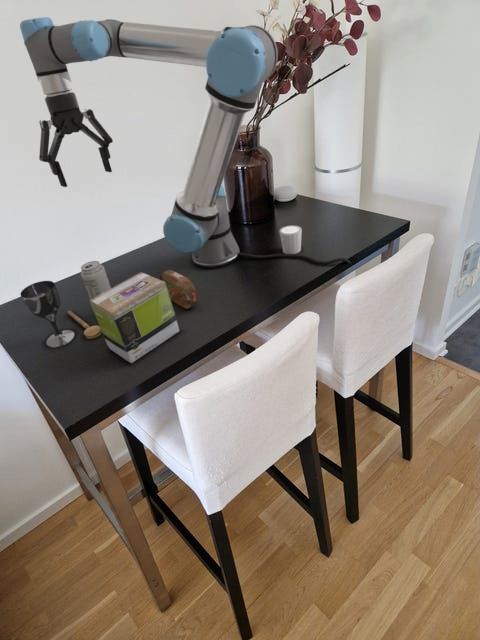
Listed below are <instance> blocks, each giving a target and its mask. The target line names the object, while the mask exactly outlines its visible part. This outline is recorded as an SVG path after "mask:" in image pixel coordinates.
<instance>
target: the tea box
mask: <svg viewBox="0 0 480 640" xmlns="http://www.w3.org/2000/svg"><path fill="white" fill-rule="evenodd" d="M172 303H173V302H172V300H171V299H170V296H169V293H168V289H167V286H166V283H165V282H164V281H162V280H160V278H159V279H158V278H156V277H154V276H151V275H149V274H147V273H145V272H142V271H141V272H139V273H137V274H135V275H133V276H131V277H129V278H127V279H125V280H124V281H122V282H120V283H118V284H116V285H115V286H113V287H111V289H109V290H107V291H106V292H104V293H102V294H100V295H98V296H97V297H95V298H93V299H91V300H90V299H89V304H90V306H91V309H92V312H93V313H94V316H95V318H96V321H97V323H98V326H100V328H101V331H102V333H101V334H102V335H103V338H104V341H105V343H106V345H107V347H108V349H109V350H111V351H112V352H114V353H115V354H116V355H118V356H119V357H121V358H122V359H124V360H125V361H127V362H128V363H130V364H133V363H135V362H136V361H137V360H139V359H141V358H142V357H144V356H145V355H147V354H148V353H150V352H151V351H152V350H154V349H156V348H157V347H158V346H159V345H161V344H163V343H164V342H166V341H167V340H168V339H170V338H172V337H173V336H174V335H176V334H177V333H179V332H180V327H179V324H178V320H177V317H176V313H175V310H174V306H173V304H172Z"/></svg>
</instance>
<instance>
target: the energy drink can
mask: <svg viewBox="0 0 480 640" xmlns="http://www.w3.org/2000/svg"><path fill="white" fill-rule="evenodd" d="M80 270H81V271H80V276H81V279H82V282H83V284H84V287H85V290H86V292H87V294H88V297H89V300H91V299H93V298H95V297H97V296H98V295H100V294H102V293H104V292H106V291H107V290H109V289H111V288H112V286H111V283H110V281H109V278H108V275H107V272H106V268H105V267H104V265H102V264H101V263H100V261H98V260H91V261H87V262H85V263H83V264H82V265H81V266H80Z"/></svg>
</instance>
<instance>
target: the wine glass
mask: <svg viewBox="0 0 480 640" xmlns="http://www.w3.org/2000/svg"><path fill="white" fill-rule="evenodd" d="M20 298H21V299H22V301H23V304H24V305H25V306H26V308H27V310H28V311H30V313H32V314H33V315H34V316H35V317H37V318H40V319H43V320H46V321H47V322H49V324H50V325H51V326H52V328H53V329H54V333H53V334H52V335H50V336H49V337H47V339H46V346H48V347H50V348H59V347H62V346H65V345H67V344H69V343H71V341H72V340H74V338H75V332H74V331H73V330H71V329H70V330H69V329H67V330H66V329H64V330H59V329H58V325H57V322H56V317H57V314H58V311H59V309H60V307H61V299H60V295H59V291H58V287H57V286H56V284H55V283H54V281H52V280H41V281H37V282H34V283H32V284H29V285H28V286H26V287H24V288H23V289H22V290H21V292H20Z"/></svg>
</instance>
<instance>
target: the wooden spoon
mask: <svg viewBox="0 0 480 640" xmlns="http://www.w3.org/2000/svg"><path fill="white" fill-rule="evenodd" d="M67 315H68V316H69V317H70V318H72V319H73V320H74V321H76V323H78V324H79V325H80V326H82V327H83V328H84V329H85V330H84V331H83V335H84V337H85V338H86V339H88V340H92V339H95V338H98V337H99V336H101V334H103V333H102V331H101V328H100V326H99V325H91V326H90V325H89V324H88V323H87V322H85V321H84V320H83V319H82V318H80V317H79V316H78V315H77V314H76V313H74V312H73V311H72V310H68V311H67Z"/></svg>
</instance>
